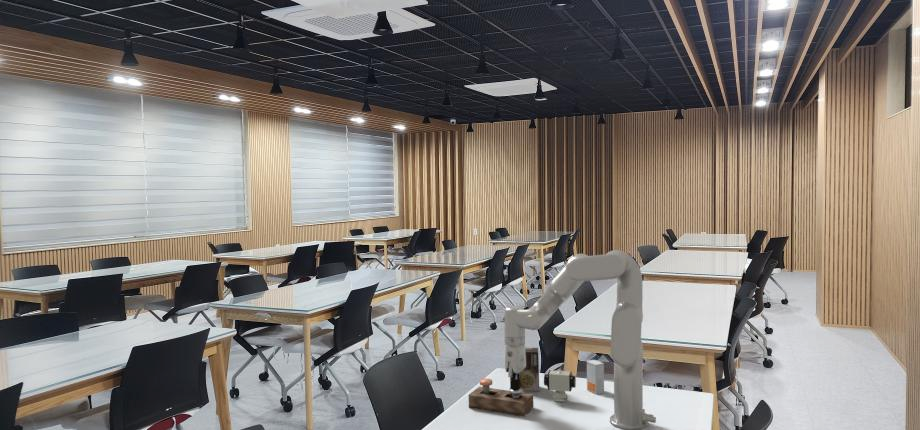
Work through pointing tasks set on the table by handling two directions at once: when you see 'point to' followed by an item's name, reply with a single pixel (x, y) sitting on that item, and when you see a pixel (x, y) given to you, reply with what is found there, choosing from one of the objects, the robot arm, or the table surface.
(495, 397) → the plug box
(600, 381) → the skincare box
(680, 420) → the table surface
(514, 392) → the steel plug
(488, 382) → the terracotta plug
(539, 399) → the table surface
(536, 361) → the coffee box
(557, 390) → the pneumatic valve
